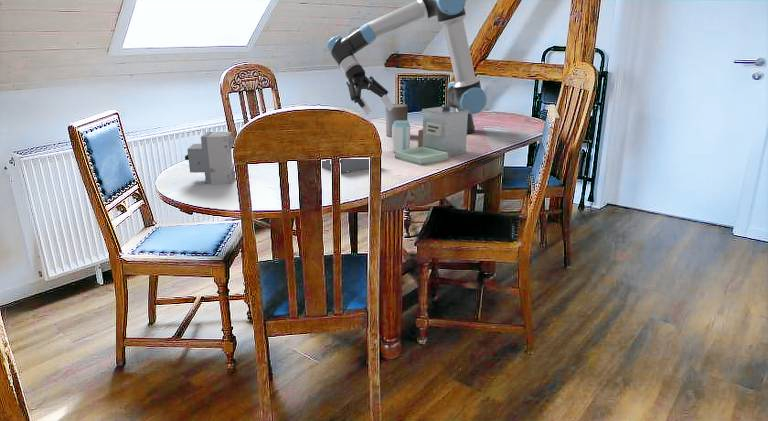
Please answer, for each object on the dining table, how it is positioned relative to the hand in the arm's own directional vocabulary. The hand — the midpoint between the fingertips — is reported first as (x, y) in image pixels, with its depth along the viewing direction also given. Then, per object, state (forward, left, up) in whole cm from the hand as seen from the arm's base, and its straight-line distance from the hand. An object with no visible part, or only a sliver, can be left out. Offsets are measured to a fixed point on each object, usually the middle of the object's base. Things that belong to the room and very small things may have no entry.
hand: (380, 110), depth 216 cm
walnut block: (-16, +10, -15) cm, 24 cm away
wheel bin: (+28, +16, -15) cm, 36 cm away
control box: (-14, +22, -15) cm, 30 cm away
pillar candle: (-22, -16, -15) cm, 31 cm away
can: (-2, +10, -15) cm, 18 cm away
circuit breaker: (+73, +4, -15) cm, 75 cm away
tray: (0, +24, -15) cm, 29 cm away
